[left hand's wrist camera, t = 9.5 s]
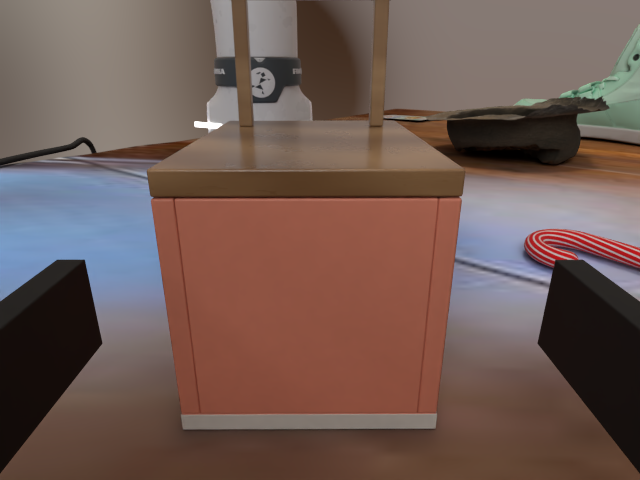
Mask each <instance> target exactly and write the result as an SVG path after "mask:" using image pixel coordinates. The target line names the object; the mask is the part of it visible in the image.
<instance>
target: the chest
mask: <svg viewBox="0 0 640 480" xmlns="http://www.w3.org/2000/svg"><path fill="white" fill-rule="evenodd" d="M461 203H462V200H461V198H460V197H154V198H153V199H151V204H152V211H153V218H154V225H155V232H156V239H157V246H158V253H159V260H160V267H161V274H162V281H163V288H164V295H165V302H166V308H167V315H168V322H169V329H170V336H171V343H172V350H173V357H174V364H175V371H176V378H177V385H178V392H179V399H180V406H181V412H182V414H181V420H182V427H183V429H435V428H436V420H437V412H436V411H437V403H438V395H439V386H440V378H441V370H442V361H443V353H444V345H445V336H446V328H447V319H448V311H449V303H450V294H451V286H452V278H453V269H454V261H455V253H456V244H457V236H458V228H459V219H460V211H461Z"/></svg>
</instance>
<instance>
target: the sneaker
mask: <svg viewBox="0 0 640 480" xmlns="http://www.w3.org/2000/svg"><path fill="white" fill-rule="evenodd" d="M575 96H576V97H581V99H582V98H583V97H586V98H590V99H593V98H595V100H596V99H597V98H599V97H601V96H603V97H602V99H603V98H604V100H603V101H606V105H608V106H609V108H610V109H607V110H605V111H597V112H590V113H583V114H578V115H577V125H578V127H579V129H580V135H581V137H590V138H599V139H606V140H613V141H620V142H626V143H632V144H639V145H640V24H639V25H638V26H637V28H636V29H635V30H634V32H633V35H632V36H631V38H630V40H629V42H628V43H627V45H626V47H625V48H624V50H623V52H622V54H621V55H620V57H619V59H618V60H617V62H616V65H615V66H614V68H613V70H612V72H611V74H610V77H608V78H606V79H604V80H603V81H602V82H600V81H596V82H592V83H589V84H586V85H584V86H582V87H580V88H579V89H578V90H572V91H568V92H565V93H563V94H561V95H560V97H559V98H564V97H568V98H570V97H572V98H574V97H575ZM544 101H547V100H543V99H523V100H520V101H519V102H517V103H516V104H514V105H524V106H531V105H533V104H535V103H537V102H544ZM514 105H513V106H514Z"/></svg>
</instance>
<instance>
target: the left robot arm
mask: <svg viewBox="0 0 640 480" xmlns="http://www.w3.org/2000/svg"><path fill="white" fill-rule="evenodd" d="M81 143H85V144H86V145H87V146H88V147H89V148H90V150H91V153H97V152H96V149H95V147H94V145H93V144H92V143H91V141H90V140H88V139H87V138H84V137H82V138H79V139H77V140H76V141H74V142H73V143H71V144H69V145H65V146H60V147H55V148H50V149H44V150H39V151H34V152H29V153H25V154H20V155H16V156H11V157H6V158H2V159H0V165H4V164H8V163H12V162H17V161H21V160H25V159H30V158H34V157H39V156H43V155H48V154H54V153H58V152H63V151H67V150H71V149H74V148H76V147H77V146H79V145H80V144H81ZM101 345H102V339H101V335H100V330H99V325H98V320H97V316H96V311H95V306H94V302H93V297H92V292H91V287H90V283H89V278H88V273H87V268H86V264H85V260H56V261H55V262H54V263H52V264H51V265H49V266H48V267H47V268H45V269H44V270H43V271H41V272H40V273H39V274H37V275H36V276H34V277H33V278H32V279H30V280H29V281H28V282H26V283H25V284H24V285H22V286H21V287H19V288H18V289H17V290H15V291H14V292H13V293H11V294H10V295H9V296H7V297H6V298H5V299H3V300H2V301H0V473H1V472H2V470H3V469H4V468H5V467H6V465H7V464H8V463H9V462H10V460H11V459H12V458H13V456H14V455H15V454H16V453H17V451H18V450H19V449H20V448H21V446H22V445H23V444H24V442H25V441H26V440H27V439H28V437H29V436H30V435H31V434H32V432H33V431H34V430H35V428H36V427H37V426H38V425H39V423H40V422H41V421H42V420H43V418H44V417H45V416H46V414H47V413H48V412H49V411H50V409H51V408H52V407H53V406H54V404H55V403H56V402H57V401H58V399H59V398H60V397H61V395H62V394H63V393H64V392H65V390H66V389H67V388H68V387H69V385H70V384H71V383H72V381H73V380H74V379H75V378H76V376H77V375H78V374H79V373H80V371H81V370H82V369H83V367H84V366H85V365H86V364H87V362H88V361H89V360H90V359H91V357H92V356H93V355H94V353H95V352H96V351H97V350H98V348H99V347H100V346H101ZM538 345H539V346H540V347H541V348H542V350H543V351H544V352H545V353H546V355H547V356H548V357H549V359H550V360H551V361H552V362H553V364H554V365H555V366H556V367H557V369H558V370H559V371H560V373H561V374H562V375H563V376H564V378H565V379H566V380H567V381H568V383H569V384H570V385H571V387H572V388H573V389H574V390H575V392H576V393H577V394H578V395H579V397H580V398H581V399H582V401H583V402H584V403H585V404H586V406H587V407H588V408H589V409H590V411H591V412H592V413H593V414H594V416H595V417H596V418H597V420H598V421H599V422H600V423H601V425H602V426H603V427H604V428H605V430H606V431H607V432H608V434H609V435H610V436H611V437H612V439H613V440H614V441H615V442H616V444H617V445H618V446H619V448H620V449H621V450H622V451H623V453H624V454H625V455H626V456H627V458H628V459H629V460H630V462H631V463H632V464H633V465H634V467H635V468H636V469H637V470H638V472H639V473H640V301H638V300H637V299H635V298H634V297H633V296H631V295H630V294H629V293H627V292H626V291H625V290H623V289H622V288H621V287H619V286H618V285H616V284H615V283H614V282H612V281H611V280H610V279H608V278H607V277H606V276H604V275H603V274H601V273H600V272H599V271H597V270H596V269H595V268H593V267H592V266H591V265H589V264H588V263H586V262H585V261H584V260H555V264H554V268H553V273H552V278H551V283H550V287H549V292H548V297H547V302H546V306H545V311H544V316H543V320H542V325H541V330H540V335H539V339H538Z"/></svg>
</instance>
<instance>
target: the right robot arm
mask: <svg viewBox="0 0 640 480" xmlns="http://www.w3.org/2000/svg"><path fill="white" fill-rule="evenodd" d="M210 1H211V7H212V14H213V21H214V29H215V38H216V50H217V58H216V59H215V60H214V65H215V69H214V74H215V81H216V85H217V86H218V90H217V92H216V94H215V95H214V97H213V98H211V99H210V101H209V102H208V103H207V118H208V123H204V122H195V127H206V128H208V133H210V132H212V131H213V130H215V129H217V128H218V127H220V126H222V125H223V124H225V123H227V122H228V121H239V113H238V97H237V82H236V67H235V51H234V36H233V20H232V5H231V0H210ZM247 2H248V21H249V40H250V59H251V77H252V96H253V115H254V121H312V105H311V101H309V100H308V98H306V97H305V96H304V95H303V93H302V92H301V90H300V88H299V85H300V84H301V73H302V69H301V65H300V59H299V58H297V10H296V1H295V0H247Z"/></svg>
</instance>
